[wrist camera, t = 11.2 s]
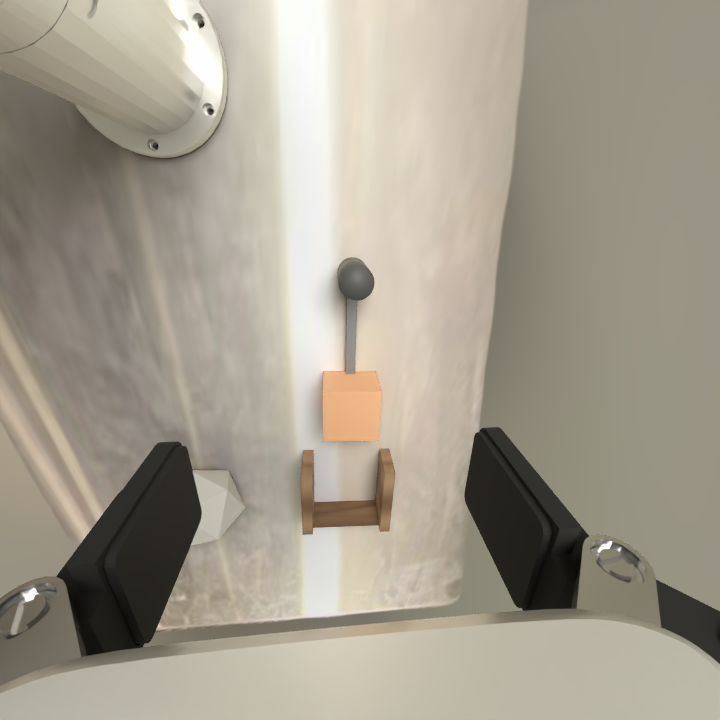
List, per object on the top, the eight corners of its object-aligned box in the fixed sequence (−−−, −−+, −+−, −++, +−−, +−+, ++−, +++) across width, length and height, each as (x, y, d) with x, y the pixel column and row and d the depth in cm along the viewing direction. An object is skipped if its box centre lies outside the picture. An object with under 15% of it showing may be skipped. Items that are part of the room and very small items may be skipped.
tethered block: (322, 256, 34) (321, 264, 28) (382, 258, 34) (392, 265, 29) (323, 416, 41) (322, 447, 35) (373, 415, 41) (379, 446, 36)
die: (191, 509, 45) (218, 570, 39) (133, 498, 39) (155, 569, 33) (235, 462, 46) (268, 515, 40) (186, 443, 40) (217, 502, 34)
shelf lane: (303, 450, 42) (300, 475, 38) (388, 448, 43) (395, 473, 39) (305, 509, 46) (302, 538, 42) (383, 506, 47) (388, 534, 43)
